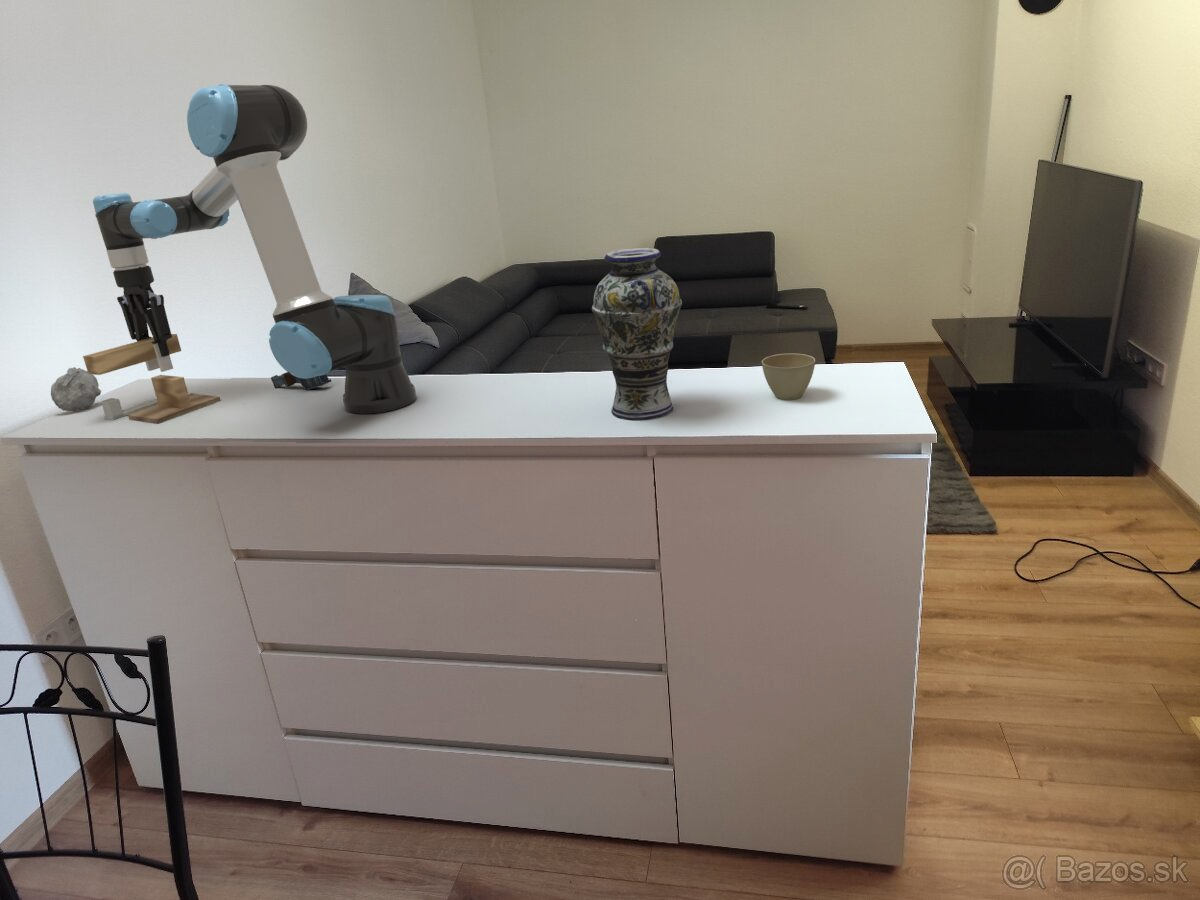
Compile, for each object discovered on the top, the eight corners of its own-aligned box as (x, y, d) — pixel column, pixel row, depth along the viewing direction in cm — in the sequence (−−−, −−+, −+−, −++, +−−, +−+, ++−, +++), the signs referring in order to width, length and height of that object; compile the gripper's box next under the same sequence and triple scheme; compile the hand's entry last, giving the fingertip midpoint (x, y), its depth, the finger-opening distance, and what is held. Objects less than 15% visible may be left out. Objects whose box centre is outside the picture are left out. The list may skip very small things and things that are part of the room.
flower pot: (769, 386, 172) (769, 352, 169) (820, 389, 167) (820, 354, 165) (755, 402, 163) (755, 365, 161) (808, 405, 159) (808, 368, 156)
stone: (86, 402, 202) (73, 361, 198) (110, 402, 201) (98, 361, 197) (55, 415, 193) (41, 373, 190) (81, 415, 192) (67, 372, 188)
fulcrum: (221, 400, 194) (213, 369, 191) (158, 423, 181) (148, 389, 179) (192, 397, 199) (184, 366, 196) (129, 419, 186) (119, 386, 183)
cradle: (187, 394, 202) (183, 378, 200) (112, 420, 186) (107, 402, 185) (180, 393, 203) (176, 377, 202) (104, 419, 188) (99, 401, 186)
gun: (256, 328, 199) (302, 311, 192) (285, 395, 203) (332, 381, 197) (247, 330, 197) (294, 314, 190) (278, 398, 201) (324, 384, 194)
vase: (661, 390, 175) (653, 241, 164) (702, 413, 160) (696, 250, 149) (586, 406, 169) (573, 252, 159) (621, 430, 154) (609, 263, 144)
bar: (181, 350, 198) (176, 334, 197) (99, 375, 182) (93, 356, 180) (170, 350, 200) (165, 333, 198) (88, 374, 184) (82, 356, 182)
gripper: (170, 263, 187) (198, 366, 195) (123, 264, 195) (152, 364, 203) (139, 269, 181) (169, 375, 189) (92, 270, 189) (122, 372, 197)
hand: (160, 369), depth 196 cm, fingers closed on bar, 4 cm apart
